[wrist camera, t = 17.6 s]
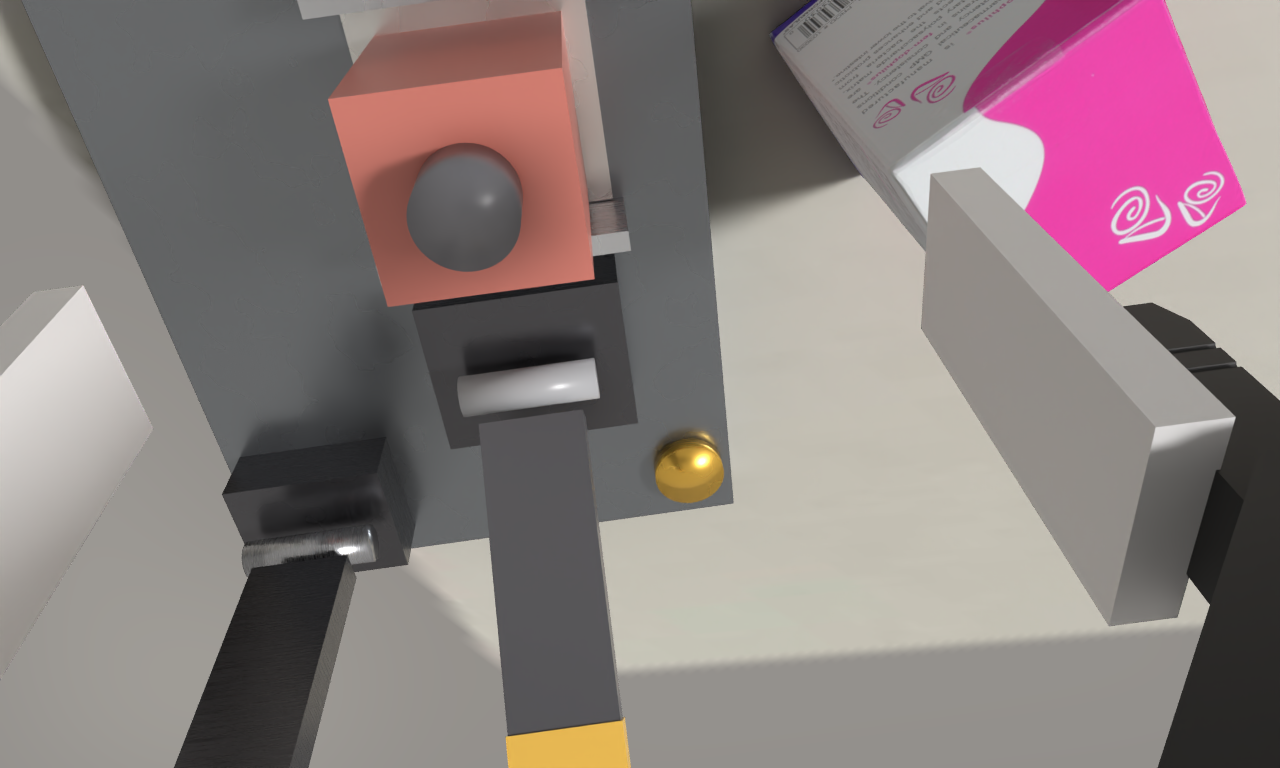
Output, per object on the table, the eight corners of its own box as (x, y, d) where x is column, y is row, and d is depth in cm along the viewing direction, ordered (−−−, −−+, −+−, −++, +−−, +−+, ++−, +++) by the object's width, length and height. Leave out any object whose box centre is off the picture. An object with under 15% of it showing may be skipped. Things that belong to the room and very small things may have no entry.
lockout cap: (373, 36, 25) (312, 119, 19) (561, 10, 25) (561, 86, 19) (418, 211, 28) (378, 337, 22) (587, 189, 28) (596, 308, 22)
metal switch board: (51, -25, 26) (-506, 186, 12) (673, -112, 26) (801, 2, 12) (286, 531, 37) (127, 969, 23) (725, 470, 36) (823, 872, 23)
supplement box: (864, 182, 31) (1006, 365, 21) (764, 32, 28) (873, 163, 18) (1027, 68, 29) (1261, 209, 19) (937, -103, 26) (1157, -39, 17)
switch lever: (455, 371, 28) (495, 821, 24) (592, 352, 28) (649, 799, 24) (464, 382, 29) (504, 812, 26) (596, 364, 29) (651, 792, 26)
